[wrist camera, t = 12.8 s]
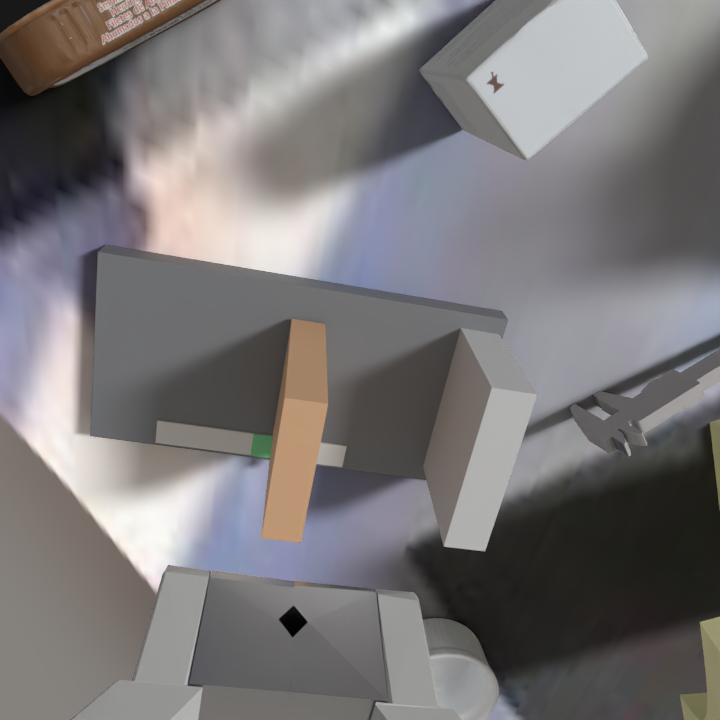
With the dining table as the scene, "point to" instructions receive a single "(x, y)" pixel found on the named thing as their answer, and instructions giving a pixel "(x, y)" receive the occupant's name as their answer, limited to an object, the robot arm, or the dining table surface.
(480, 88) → the skincare box
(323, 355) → the paddle
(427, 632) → the ramekin
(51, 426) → the dining table surface
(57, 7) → the tin
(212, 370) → the gauge board
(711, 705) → the slatted curved stool
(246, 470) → the dining table surface
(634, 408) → the caliper
